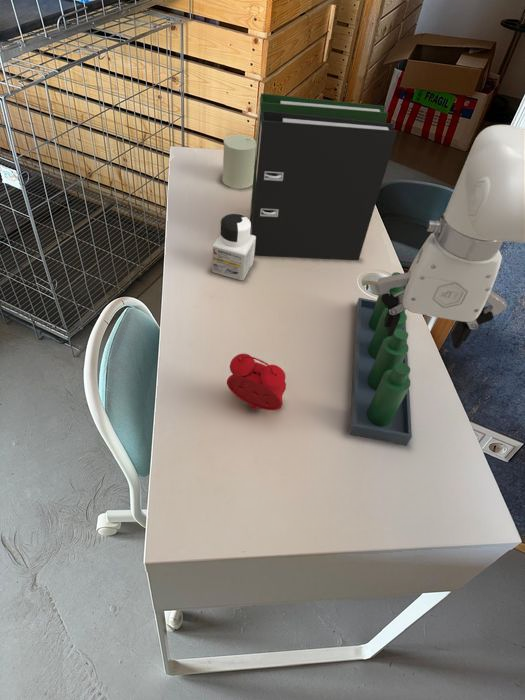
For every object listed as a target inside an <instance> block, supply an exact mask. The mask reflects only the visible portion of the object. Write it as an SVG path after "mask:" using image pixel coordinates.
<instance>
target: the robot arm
mask: <svg viewBox="0 0 525 700" xmlns="http://www.w3.org/2000/svg"><path fill="white" fill-rule="evenodd" d="M425 231H426V232H429V233H430V235H429V236H427V238H426V240H425V242H423V244H422V246H421V248H420V249H419V251H418V252H417V254H416V256H415V257H414V259H413V262H412V263H411V265H410V267H409V269H408V271H407V272H403V273H401V274H397V275H393V276H391V275H388V276H384V277H380V278H378V279H377V287H378V292H379V293H380V295H381V300H382V302H383V303H384V304H385V306H386V307H387V308H388V311H387V314H386V317H385V319H384V327H387V336H393V334H394V331H395V329H396V326H397V324H398V321H399V319H400V312H402V311H404V310H405V311H407V312H410V313H412V314H418V315H422V316H423V315H424V316H428V317H429V316H430V317H434V318H438V319H439V318H440V319H445V320H450V321H455V322H456V324H455V325H454V327H453V329H452V331H451V342H452V347H453V348H454V349H460V347H461V345H462V344H463V342H466V341H467V339H468V338H469V336H470V334H471V332H472V331H473V330H477V329H478V328H479V325H483V324H486V323H487V322H488V323H489V322H490V321H492V320H494V317H496V316H498V315H500V314H501V313H503V312H505V311H506V310H507V309H508V304H507V301H506V299H504V298H503V297H501V296H500V295H499V294H497V292H495V291H494V290H492V289H493V288H494V285H495V282H496V279H497V276H498V273H499V270H500V267H501V264H502V259H503V256H502V253H501V251H500V249H501V247H502V245H503V243H504V242H505V243H507V242H508V243H521V244H525V127H520V126H517V125H511V124H494V125H490V126H487V127H485V128H484V129H482V130H481V131H480V132H479V133H478V134H477V136H476V137H475V139H474V141H473V144H472V146H471V148H470V151H469V153H468V155H467V158H466V160H465V162H464V165H463V168H462V170H461V172H460V174H459V176H458V179H457V182H456V184H455V186H454V188H453V192H452V193H451V196H450V199H449V201H448V203H447V206H446V208H445V211H444V212H442V213H441V216H440V217H439V218H438V220H437V219H435V220H431V219H429V220H428V221H427V223H426V228H425ZM401 286H403V287H402V289H403V291H401V292H399V293H397V294H395V295H393V294H392V293H391V291H390V289H391V288H396V287H401ZM486 304H489V305H488V306H485V305H486Z"/></svg>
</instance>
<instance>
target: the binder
mask: <svg viewBox="0 0 525 700" xmlns="http://www.w3.org/2000/svg"><path fill="white" fill-rule="evenodd" d="M385 109H386V105H378V104H368V103H358V102H349V101H338V100H330V99H319V98H310V97H301V96H291V95H283V94H272V93H260V97H259V109H258V120H257V121H258V122H257V131H256V153H255V164H254V176H253V185H252V186H251V199H250V212H249V220H250V222H251V229H250V235H254V236H256V243H255V252H254V257H273V258H276V257H277V258H299V259H317V260H318V259H319V260H320V259H321V260H338V261H339V260H341V261H359V260H360V257H361V254H362V250H363V247H364V243H365V240H366V237H367V234H368V230H369V227H370V223H371V221H372V217H373V214H374V210H375V207H376V203H377V201H378V197H379V194H380V191H381V187H382V184H383V181H384V177H385V174H386V171H387V167H388V165H389V160H390V157H391V154H392V150H393V147H394V144H395V142H396V138H397V135H398V130H393V129H394V126H395V125H394V123H390V122H387V119H388V116H389V112H387V111H385Z"/></svg>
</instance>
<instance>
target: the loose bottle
mask: <svg viewBox="0 0 525 700" xmlns="http://www.w3.org/2000/svg"><path fill="white" fill-rule="evenodd" d="M410 373H411V367H410V366H409V364H408V365H407V364H405V363H402V362H398V363H396V364H395V365H394V368H393V369H391V370H388V371H386V372H385V373H384V374H383V377H382V379H381V381H380V383H379V386H378V388H377V390H376V392H375V395H374V397H373V399H372V401H371V404H370V406H369V408H368V410H367V417H368V419H369V421H370V422H371V423H373V424H374V425H376V426H380V427H384V426H388V425H389V424H390V423H391V421H392V419H393V418H394V416H395V414H396V412H397V410H398V408H399V406H400V404H401V402H402V400H403V398H404V397H405V395H406V393H407V391H408V389H409V390H410V387H411V379H410V377H408V375H410Z"/></svg>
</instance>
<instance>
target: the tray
mask: <svg viewBox="0 0 525 700" xmlns="http://www.w3.org/2000/svg"><path fill="white" fill-rule="evenodd" d="M376 302H377V300H373V299H369V298H364V297H358V298H357V302H356V305H355V317H354V333H353V334H354V337H353V355H352V357H353V359H352V375H351V376H352V377H351V397H350V414H349V435H351V436H356V437H361V438H367V439H370V440H371V439H372V440H377V441H382V442H387V443H393V444H397V445H401V446H402V445H403V446H408V445H409V442H410V441H411V439H412V438H413V430H412V414H411V397H410V396H411V395H410V388H409V389H408V391H407V393H406V395H405V397H404V398H403V400H402V402H401V404H400V406H399V408H398V410H397V412H396V414H395V416H394V418H393V419H392V421H391V423H390V424H389V425H388V426H384V427H380V426H376V425H374V424H373V423H371V422H370V421H369V419H368V417H367V410H368V408H369V406H370V404H371V401H372V399H373V397H374V395H375V392H376V390H374V389H372V388H371V387H370V385H369V384H368V377H369V374H370V372H371V369H372V367H373V364H374V362H375V359H374V358H372V357H371V356H370V354H369V352H368V349H369V346H370V343H371V341H372V338H373V335H374V333H375V331H373V330H372V329H371V328H370V326H369V321H370V318H371V315H372V313H373V310H374V307H375V304H376ZM404 313H405V314H406V310H404ZM403 330H405V331H406V332H407V321H406V322H405V324H404V326H403ZM406 343H407V344H408V339H407V340H406ZM403 363H405V364H407V365H408V366H409V357H408V353H407V354H406V356H405V358H404V360H403ZM409 375H410V374H409ZM409 375H408V377H409ZM409 378H410V377H409Z"/></svg>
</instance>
